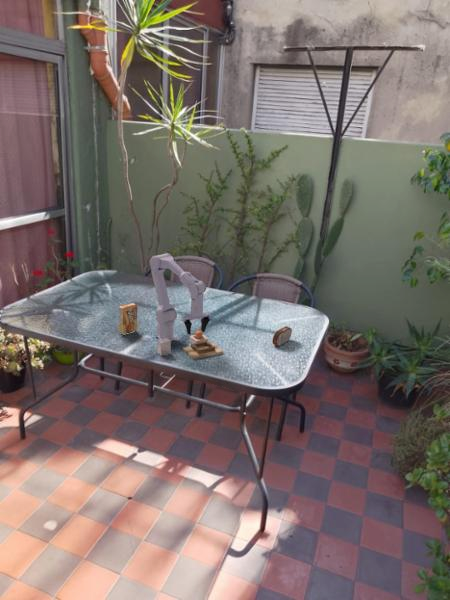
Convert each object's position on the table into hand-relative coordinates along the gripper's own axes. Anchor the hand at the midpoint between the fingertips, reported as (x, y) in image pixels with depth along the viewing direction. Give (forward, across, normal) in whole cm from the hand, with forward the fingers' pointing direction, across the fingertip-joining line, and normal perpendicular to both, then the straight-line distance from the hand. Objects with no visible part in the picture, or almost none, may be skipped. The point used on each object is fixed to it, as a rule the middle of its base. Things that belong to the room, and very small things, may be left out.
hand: (195, 332), depth 218 cm
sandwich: (+10, +45, -11) cm, 47 cm away
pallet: (+10, +3, -3) cm, 10 cm away
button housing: (+10, +6, +8) cm, 13 cm away
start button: (+7, +6, +8) cm, 12 cm away
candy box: (+10, -23, +33) cm, 41 cm away
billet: (+10, -15, +3) cm, 18 cm away
